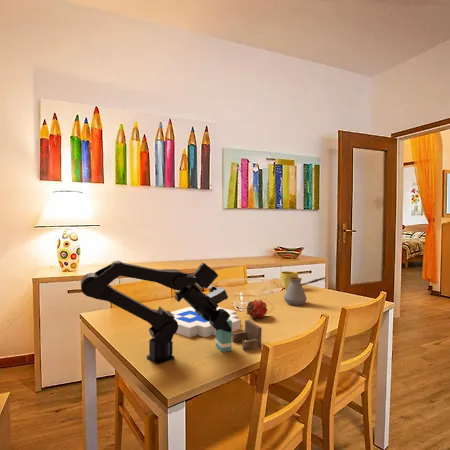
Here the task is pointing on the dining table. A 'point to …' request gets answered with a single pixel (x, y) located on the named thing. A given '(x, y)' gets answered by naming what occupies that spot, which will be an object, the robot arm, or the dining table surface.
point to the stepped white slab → (199, 322)
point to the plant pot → (287, 277)
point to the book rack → (249, 336)
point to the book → (224, 339)
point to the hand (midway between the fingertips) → (227, 328)
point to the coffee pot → (297, 291)
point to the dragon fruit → (256, 309)
